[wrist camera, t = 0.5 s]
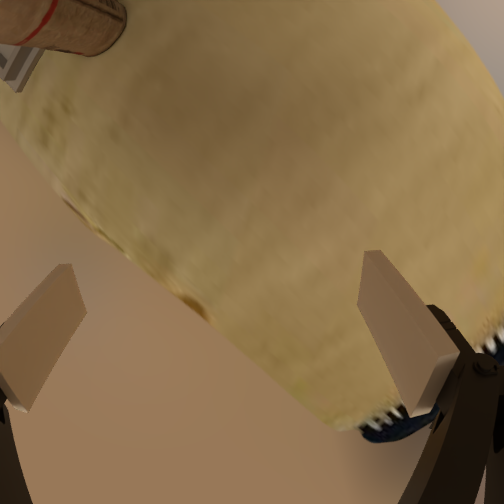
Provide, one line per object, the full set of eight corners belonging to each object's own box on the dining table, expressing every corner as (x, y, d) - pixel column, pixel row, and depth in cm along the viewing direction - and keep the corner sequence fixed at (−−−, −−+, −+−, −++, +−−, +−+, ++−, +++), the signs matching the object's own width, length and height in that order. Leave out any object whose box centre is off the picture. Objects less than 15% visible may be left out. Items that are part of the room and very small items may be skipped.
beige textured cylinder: (61, 27, 26) (-62, 14, 8) (110, -16, 23) (-6, -64, 6) (85, 70, 29) (-50, 74, 11) (138, 26, 26) (12, -17, 8)
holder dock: (35, -45, 19) (20, -51, 16) (90, -14, 23) (74, -20, 20) (-22, 44, 25) (-37, 45, 22) (21, 92, 30) (3, 94, 26)
